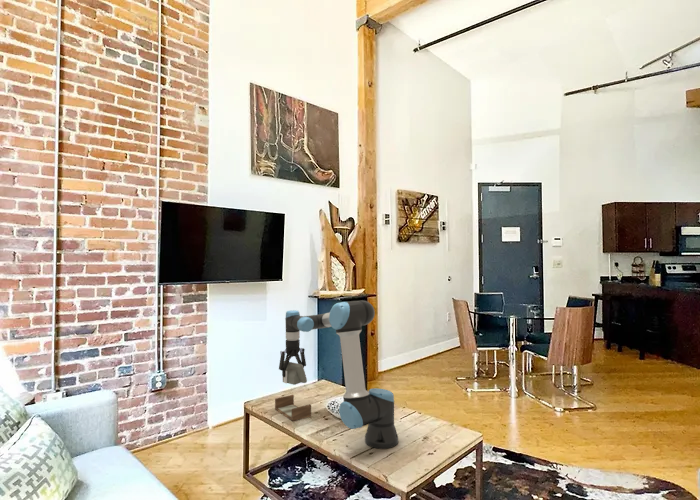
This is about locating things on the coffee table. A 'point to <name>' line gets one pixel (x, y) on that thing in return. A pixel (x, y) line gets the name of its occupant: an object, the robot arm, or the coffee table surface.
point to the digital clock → (295, 373)
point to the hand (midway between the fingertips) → (292, 381)
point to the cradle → (291, 408)
